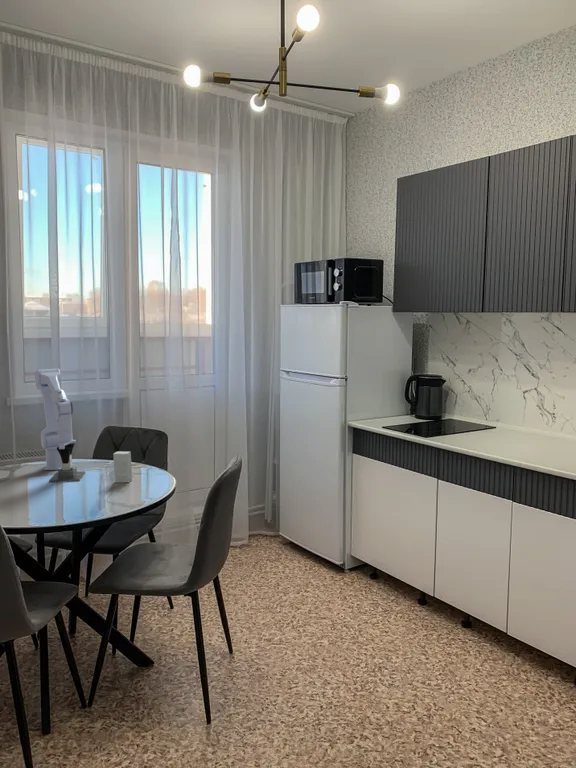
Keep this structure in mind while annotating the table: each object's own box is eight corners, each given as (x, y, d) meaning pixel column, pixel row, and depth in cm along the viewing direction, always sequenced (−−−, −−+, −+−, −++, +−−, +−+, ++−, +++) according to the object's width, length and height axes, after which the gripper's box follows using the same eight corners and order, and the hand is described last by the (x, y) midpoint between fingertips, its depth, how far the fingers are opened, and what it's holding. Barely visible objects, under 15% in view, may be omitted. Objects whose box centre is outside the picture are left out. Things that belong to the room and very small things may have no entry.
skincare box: (132, 479, 254) (131, 451, 252) (128, 482, 249) (127, 453, 248) (118, 479, 254) (116, 451, 253) (114, 482, 250) (112, 453, 248)
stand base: (56, 474, 263) (55, 465, 262) (85, 473, 264) (84, 464, 264) (49, 482, 251) (48, 472, 251) (79, 480, 253) (78, 471, 252)
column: (63, 470, 259) (63, 454, 258) (72, 470, 259) (71, 454, 258) (61, 472, 255) (61, 456, 255) (70, 472, 256) (69, 456, 255)
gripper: (71, 433, 248) (72, 466, 250) (78, 426, 263) (80, 457, 265) (52, 434, 248) (54, 466, 249) (61, 427, 262) (63, 458, 264)
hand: (66, 462), depth 257 cm, fingers closed on column, 3 cm apart
